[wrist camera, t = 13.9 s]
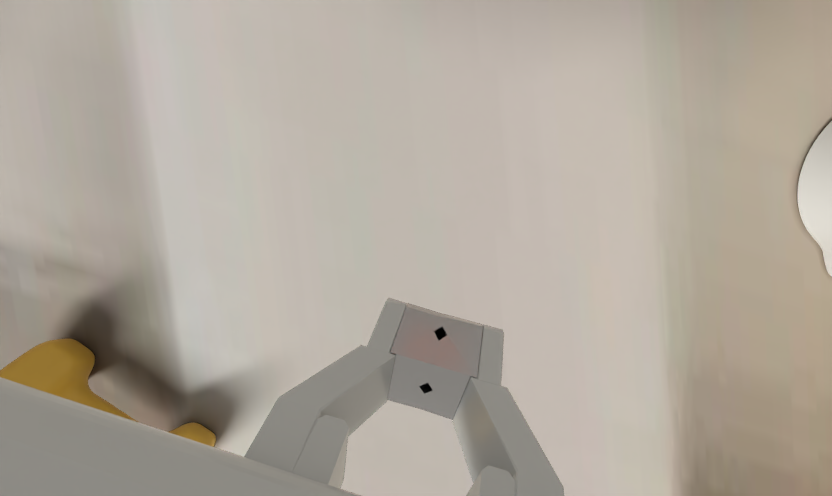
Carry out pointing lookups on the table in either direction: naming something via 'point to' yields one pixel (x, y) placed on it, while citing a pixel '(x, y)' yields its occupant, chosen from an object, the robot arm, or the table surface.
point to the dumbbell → (76, 380)
